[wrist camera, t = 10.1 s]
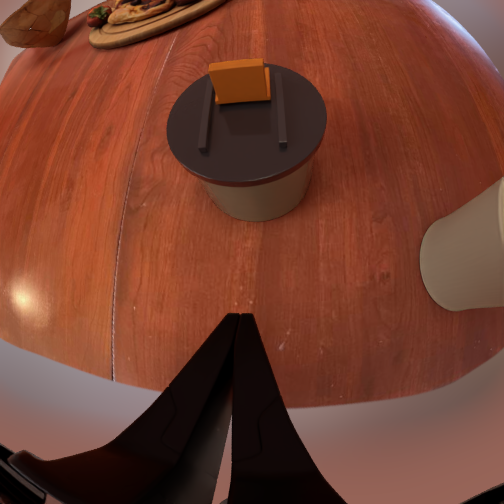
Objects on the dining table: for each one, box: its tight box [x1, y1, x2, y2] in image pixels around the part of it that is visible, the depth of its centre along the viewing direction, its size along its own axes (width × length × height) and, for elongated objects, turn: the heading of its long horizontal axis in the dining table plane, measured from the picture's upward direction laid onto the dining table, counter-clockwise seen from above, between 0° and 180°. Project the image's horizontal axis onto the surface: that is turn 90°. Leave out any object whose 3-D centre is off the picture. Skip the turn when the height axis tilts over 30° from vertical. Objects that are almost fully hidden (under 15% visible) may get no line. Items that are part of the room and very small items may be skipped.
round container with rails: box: [167, 63, 327, 222], centre depth 20 cm, size 11×11×9 cm
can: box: [420, 176, 504, 311], centre depth 15 cm, size 9×9×12 cm
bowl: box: [0, 0, 71, 48], centre depth 31 cm, size 21×20×20 cm
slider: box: [208, 58, 271, 104], centre depth 15 cm, size 3×4×3 cm
